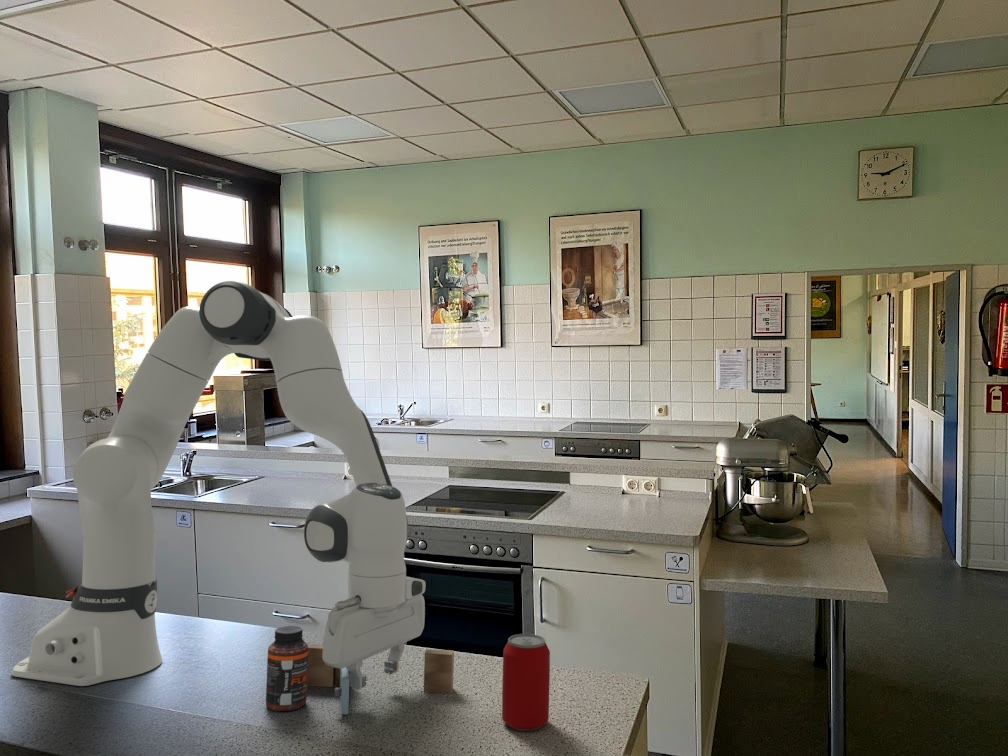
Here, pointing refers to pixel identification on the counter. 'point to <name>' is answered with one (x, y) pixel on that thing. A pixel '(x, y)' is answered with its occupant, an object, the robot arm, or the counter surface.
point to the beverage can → (525, 682)
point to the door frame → (320, 674)
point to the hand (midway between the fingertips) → (375, 680)
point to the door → (343, 690)
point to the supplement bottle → (287, 670)
